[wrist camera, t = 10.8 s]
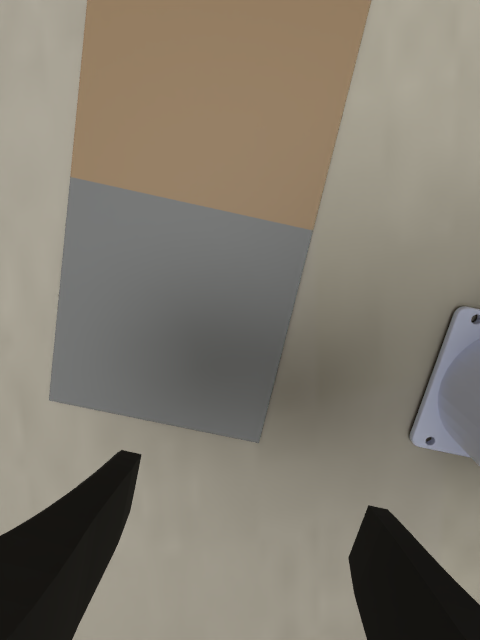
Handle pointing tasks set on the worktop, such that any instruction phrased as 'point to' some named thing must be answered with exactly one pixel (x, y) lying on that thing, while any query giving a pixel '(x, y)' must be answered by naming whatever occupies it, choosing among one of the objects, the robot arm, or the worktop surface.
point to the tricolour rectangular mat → (195, 201)
